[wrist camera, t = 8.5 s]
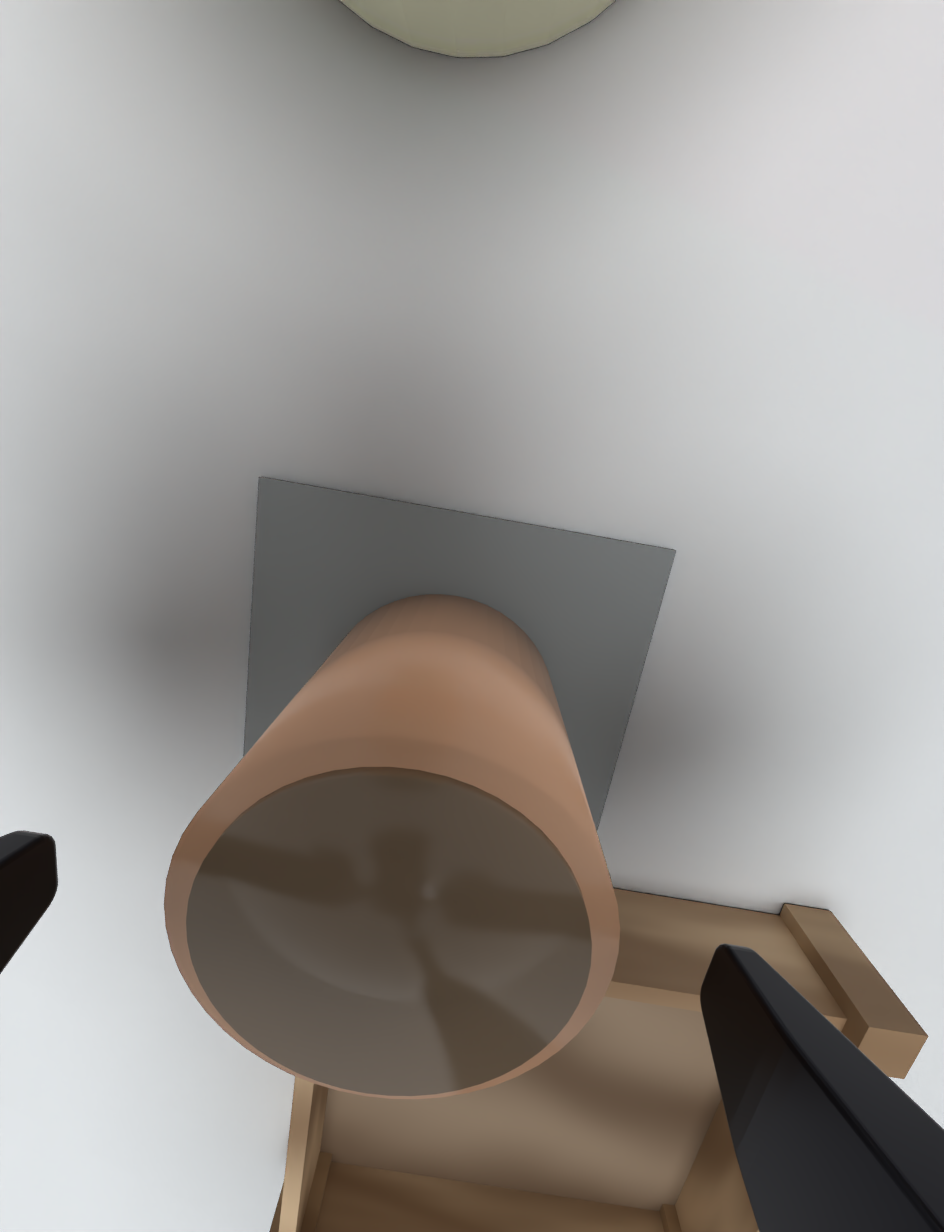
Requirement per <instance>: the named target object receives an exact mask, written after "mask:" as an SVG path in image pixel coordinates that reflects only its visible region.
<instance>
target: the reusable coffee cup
mask: <svg viewBox="0 0 944 1232" xmlns="http://www.w3.org/2000/svg"><path fill="white" fill-rule="evenodd" d="M339 1H341V2H342V3H343V4H344V5H346V6H347V7H348V8H349V9H350V10H352V11H353V12H354V13H355V14H357V15H358V16H359V17H360V18H362V19H363V20H364V21H365V22H367V23H368V24H369V25H370V26H372V27H374V28H376V29H378V30H380V31H382V32H384V33H386V34H388V35H390V36H392V37H394V38H396V39H398V40H400V41H402V42H404V43H406V44H408V45H410V46H412V47H415V48H419V49H423V50H428V51H432V52H436V53H441V54H445V55H449V56H454V57H501V56H506V55H510V54H514V53H517V52H521V51H525V50H529V49H532V48H536V47H540V46H543V45H547V44H549V43H551V42H553V41H555V40H557V39H559V38H560V37H562V36H564V35H566V34H568V33H570V32H572V31H574V30H575V29H577V28H579V27H581V26H583V25H585V24H587V23H589V22H590V21H592V20H593V19H594V18H595V17H597V16H598V15H599V14H600V13H601V12H603V11H604V10H605V9H606V8H607V7H609V6H610V5H611V4H612V3H613V2H615V1H616V0H339Z"/></svg>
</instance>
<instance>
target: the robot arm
mask: <svg viewBox="0 0 944 1232" xmlns="http://www.w3.org/2000/svg"><path fill="white" fill-rule="evenodd" d="M57 886H58V874H57V859H56V845H55V841H54V839H53V838H52V836H50V835H48V834H42V833H36V832H30V831H15V832H12V833H9V834H7V835H4V836H2V837H0V974H1V972H2V971H3V969H4V968H5V967H6V965H7V964H8V963H9V961H10V960H11V958H12V957H13V956H14V954H15V953H16V951H17V950H18V949H19V947H20V946H21V945H22V943H23V942H24V940H25V939H26V938H27V936H28V935H29V933H30V932H31V931H32V929H33V928H34V926H35V925H36V924H37V922H38V921H39V920H40V918H41V917H42V915H43V914H44V913H45V911H46V910H47V908H48V907H49V905H50V904H51V902H52V900H53V898H54V896H55V894H56V891H57ZM700 1004H701V1010H702V1014H703V1019H704V1023H705V1027H706V1032H707V1036H708V1040H709V1045H710V1049H711V1053H712V1058H713V1062H714V1066H715V1071H716V1075H717V1079H718V1084H719V1088H720V1092H721V1097H722V1101H723V1105H724V1110H725V1114H726V1118H727V1123H728V1127H729V1131H730V1135H731V1139H732V1143H733V1147H734V1151H735V1154H736V1158H737V1161H738V1164H739V1168H740V1171H741V1175H742V1178H743V1181H744V1185H745V1188H746V1191H747V1194H748V1197H749V1200H750V1204H751V1207H752V1210H753V1213H754V1216H755V1220H756V1223H757V1226H758V1229H759V1232H944V1129H943V1128H942V1127H941V1126H940V1125H939V1124H937V1123H936V1122H935V1121H934V1120H933V1119H932V1118H931V1117H930V1116H929V1115H928V1114H927V1113H926V1112H925V1111H924V1110H923V1109H922V1108H921V1107H920V1106H918V1105H917V1104H916V1103H915V1102H914V1101H913V1100H912V1099H911V1098H910V1097H909V1096H908V1095H907V1094H906V1093H905V1092H904V1091H903V1090H902V1089H900V1088H899V1087H898V1086H897V1085H896V1084H895V1083H894V1082H893V1081H892V1080H891V1079H890V1078H889V1077H888V1076H887V1075H886V1074H885V1073H884V1072H883V1071H881V1070H880V1069H879V1068H878V1067H877V1066H876V1065H875V1064H874V1063H873V1062H872V1061H871V1060H870V1059H869V1058H868V1057H867V1056H866V1055H865V1054H864V1053H862V1052H861V1051H860V1050H859V1049H858V1048H857V1047H856V1046H855V1045H854V1044H853V1043H852V1042H851V1041H850V1040H849V1039H848V1038H847V1037H846V1036H845V1035H843V1034H842V1033H841V1032H840V1031H839V1030H838V1029H837V1028H836V1027H835V1026H834V1025H833V1024H832V1023H831V1022H830V1021H829V1020H828V1019H827V1018H825V1017H824V1016H823V1015H822V1014H821V1013H820V1012H819V1011H818V1010H817V1009H816V1008H815V1007H814V1006H813V1005H812V1004H811V1003H810V1002H809V1001H808V1000H806V999H805V998H804V997H803V996H802V995H801V994H800V993H799V992H798V991H797V990H796V989H795V988H794V987H793V986H792V985H791V984H790V983H789V982H787V981H786V980H785V979H784V978H783V977H782V976H781V975H780V974H779V973H778V972H777V971H776V970H775V969H774V968H773V967H772V966H771V965H770V964H768V963H767V962H766V961H765V960H764V959H763V958H762V957H761V956H760V955H759V954H758V953H757V952H755V951H754V950H753V949H751V948H748V947H744V946H738V945H732V944H726V943H724V944H720V945H719V946H718V947H717V948H716V950H715V952H714V954H713V957H712V960H711V962H710V965H709V967H708V970H707V972H706V975H705V978H704V980H703V983H702V986H701V991H700Z"/></svg>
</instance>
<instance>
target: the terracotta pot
mask: <svg viewBox="0 0 944 1232" xmlns="http://www.w3.org/2000/svg"><path fill="white" fill-rule="evenodd" d="M164 910H165V923H166V930H167V934H168V939H169V943H170V947H171V951H172V953H173V956H174V958H175V961H176V963H177V966H178V968H179V971H180V973H181V975H182V976H183V978H184V980H185V982H186V983H187V985H188V987H189V989H190V990H191V992H192V994H193V995H194V996H195V998H196V999H197V1000H198V1002H199V1003H200V1004H201V1006H202V1007H203V1008H204V1010H205V1011H206V1012H207V1013H208V1014H209V1015H210V1016H211V1018H212V1019H213V1020H214V1021H215V1022H216V1023H217V1024H218V1025H219V1026H220V1027H221V1028H222V1029H223V1030H224V1031H225V1032H226V1033H228V1034H229V1035H230V1036H231V1037H233V1038H234V1039H235V1040H236V1041H237V1042H239V1043H240V1044H241V1045H242V1046H243V1047H245V1048H246V1049H248V1050H249V1051H251V1052H252V1053H254V1054H255V1055H257V1056H258V1057H260V1058H262V1059H263V1060H265V1061H266V1062H268V1063H270V1064H272V1065H274V1066H276V1067H278V1068H280V1069H282V1070H283V1071H285V1072H287V1073H289V1074H292V1075H294V1076H297V1077H299V1078H302V1079H304V1080H307V1081H309V1082H311V1083H314V1084H317V1085H321V1086H324V1087H328V1088H331V1089H334V1090H338V1091H342V1092H347V1093H352V1094H357V1095H362V1096H369V1097H378V1098H387V1099H428V1098H441V1097H448V1096H454V1095H460V1094H465V1093H470V1092H474V1091H477V1090H481V1089H485V1088H488V1087H492V1086H495V1085H497V1084H500V1083H502V1082H505V1081H507V1080H510V1079H512V1078H515V1077H517V1076H519V1075H521V1074H523V1073H525V1072H527V1071H529V1070H530V1069H532V1068H534V1067H536V1066H538V1065H540V1064H541V1063H543V1062H544V1061H545V1060H547V1059H548V1058H550V1057H551V1056H553V1055H554V1054H555V1053H557V1052H558V1051H560V1050H561V1049H562V1048H563V1047H564V1046H565V1045H566V1044H567V1043H568V1042H569V1041H571V1040H572V1039H573V1038H574V1037H575V1036H576V1035H577V1034H578V1033H579V1032H580V1030H581V1029H582V1028H583V1027H584V1026H585V1024H586V1023H587V1022H588V1021H589V1020H590V1019H591V1017H592V1016H593V1014H594V1013H595V1011H596V1009H597V1008H598V1006H599V1004H600V1003H601V1001H602V1000H603V998H604V996H605V994H606V991H607V989H608V986H609V984H610V982H611V979H612V977H613V974H614V970H615V965H616V961H617V957H618V953H619V939H620V922H619V912H618V904H617V900H616V896H615V892H614V889H613V885H612V881H611V878H610V874H609V871H608V868H607V865H606V861H605V858H604V855H603V851H602V848H601V845H600V841H599V838H598V835H597V831H596V828H595V825H594V821H593V818H592V815H591V812H590V808H589V805H588V802H587V798H586V795H585V792H584V788H583V785H582V782H581V778H580V775H579V772H578V768H577V765H576V762H575V759H574V755H573V752H572V749H571V745H570V742H569V739H568V735H567V732H566V729H565V725H564V722H563V719H562V715H561V712H560V709H559V706H558V702H557V699H556V696H555V692H554V689H553V686H552V682H551V679H550V676H549V672H548V669H547V667H546V665H545V662H544V660H543V658H542V656H541V654H540V652H539V651H538V649H537V647H536V646H535V644H534V643H533V642H532V640H531V639H530V638H529V637H528V635H527V634H526V633H525V632H524V631H523V630H522V629H521V628H520V627H519V626H518V625H517V624H516V623H514V622H513V621H512V620H511V619H509V618H508V617H506V616H505V615H504V614H502V613H501V612H499V611H497V610H495V609H493V608H491V607H489V606H488V605H485V604H482V603H480V602H477V601H475V600H472V599H467V598H463V597H459V596H453V595H444V594H426V595H419V596H412V597H407V598H404V599H400V600H397V601H394V602H391V603H389V604H387V605H384V606H382V607H380V608H378V609H377V610H375V611H373V612H372V613H370V614H368V615H367V616H366V617H365V618H363V619H362V620H361V621H360V622H358V623H357V624H356V625H355V626H354V627H353V628H352V629H351V630H350V632H349V633H348V634H347V635H346V636H345V637H344V638H343V639H342V641H341V642H340V643H339V644H338V645H337V647H336V648H335V649H334V650H333V651H332V653H331V654H330V655H329V656H328V657H327V659H326V660H325V661H324V662H323V663H322V664H321V666H320V667H319V668H318V669H317V670H316V672H315V673H314V674H313V675H312V676H311V678H310V679H309V680H308V681H307V682H306V683H305V685H304V686H303V687H302V688H301V689H300V691H299V692H298V693H297V694H296V695H295V697H294V698H293V699H292V700H291V701H290V703H289V704H288V705H287V706H286V707H285V708H284V710H283V711H282V712H281V713H280V714H279V716H278V717H277V718H276V719H275V720H274V722H273V723H272V724H271V725H270V726H269V727H268V729H267V730H266V731H265V732H264V733H263V735H262V736H261V737H260V738H259V739H258V741H257V742H256V743H255V744H254V745H253V747H252V748H251V749H250V750H249V751H248V752H247V754H246V755H245V756H244V757H243V758H242V760H241V761H240V762H239V763H238V764H237V766H236V767H235V768H234V769H233V770H232V771H231V773H230V774H229V775H228V776H227V777H226V779H225V780H224V781H223V782H222V783H221V785H220V786H219V787H218V788H217V789H216V790H215V792H214V793H213V794H212V795H211V796H210V798H209V799H208V800H207V801H206V802H205V804H204V805H203V806H202V807H201V808H200V810H199V811H198V812H197V813H196V815H195V816H194V818H193V819H192V821H191V822H190V824H189V825H188V827H187V828H186V830H185V831H184V832H183V834H182V836H181V839H180V841H179V843H178V845H177V847H176V849H175V852H174V854H173V856H172V860H171V863H170V867H169V871H168V875H167V878H166V887H165V898H164Z"/></svg>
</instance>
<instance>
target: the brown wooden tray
mask: <svg viewBox="0 0 944 1232" xmlns="http://www.w3.org/2000/svg"><path fill="white" fill-rule="evenodd" d="M613 889H614V892H615V896H616V900H617V904H618V912H619V922H620V939H619V953H618V957H617V961H616V965H615V970H614V974H613V977H612V979H611V982H610V984H609V986H608V989H607V991H606V994H605V996H604V998H603V1000H602V1001H601V1003H600V1004H599V1006H598V1008H597V1009H596V1011H595V1013H594V1014H593V1016H592V1017H591V1019H590V1020H589V1021H588V1022H587V1023H586V1024H585V1026H584V1027H583V1028H582V1029H581V1030H580V1032H579V1033H578V1034H577V1035H576V1036H575V1037H574V1038H573V1039H572V1040H571V1041H569V1042H568V1043H567V1044H566V1045H565V1046H564V1047H563V1048H562V1049H561V1050H560V1051H558V1052H557V1053H555V1054H554V1055H553V1056H551V1057H550V1058H548V1059H547V1060H545V1061H544V1062H543V1063H541V1064H540V1065H538V1066H536V1067H534V1068H532V1069H530V1070H529V1071H527V1072H525V1073H523V1074H521V1075H519V1076H517V1077H515V1078H512V1079H510V1080H507V1081H505V1082H502V1083H500V1084H497V1085H495V1086H492V1087H488V1088H485V1089H481V1090H477V1091H474V1092H470V1093H465V1094H460V1095H454V1096H448V1097H441V1098H428V1099H387V1098H378V1097H369V1096H362V1095H357V1094H352V1093H347V1092H342V1091H338V1090H334V1089H331V1088H328V1087H324V1086H321V1085H317V1084H314V1083H311V1082H309V1081H307V1080H304V1079H302V1078H299V1077H297V1076H295V1084H294V1094H293V1103H292V1112H291V1122H290V1131H289V1140H288V1150H287V1159H286V1168H285V1178H284V1183H283V1186H282V1190H281V1193H280V1197H279V1200H278V1204H277V1207H276V1211H275V1214H274V1218H273V1221H272V1225H271V1228H270V1232H759V1229H758V1226H757V1223H756V1220H755V1216H754V1213H753V1210H752V1207H751V1204H750V1200H749V1197H748V1194H747V1191H746V1188H745V1185H744V1181H743V1178H742V1175H741V1171H740V1168H739V1164H738V1161H737V1158H736V1154H735V1151H734V1147H733V1143H732V1139H731V1135H730V1131H729V1127H728V1123H727V1118H726V1114H725V1110H724V1105H723V1101H722V1097H721V1092H720V1088H719V1084H718V1079H717V1075H716V1071H715V1066H714V1062H713V1058H712V1053H711V1049H710V1045H709V1040H708V1036H707V1032H706V1027H705V1023H704V1019H703V1014H702V1010H701V1004H700V991H701V986H702V983H703V980H704V978H705V975H706V972H707V970H708V967H709V965H710V962H711V960H712V957H713V954H714V952H715V950H716V948H717V947H718V946H719V945H720V944H724V943H726V944H732V945H738V946H744V947H748V948H751V949H753V950H754V951H755V952H757V953H758V954H759V955H760V956H761V957H762V958H763V959H764V960H765V961H766V962H767V963H768V964H770V965H771V966H772V967H773V968H774V969H775V970H776V971H777V972H778V973H779V974H780V975H781V976H782V977H783V978H784V979H785V980H786V981H787V982H789V983H790V984H791V985H792V986H793V987H794V988H795V989H796V990H797V991H798V992H799V993H800V994H801V995H802V996H803V997H804V998H805V999H806V1000H808V1001H809V1002H810V1003H811V1004H812V1005H813V1006H814V1007H815V1008H816V1009H817V1010H818V1011H819V1012H820V1013H821V1014H822V1015H823V1016H824V1017H825V1018H827V1019H828V1020H829V1021H830V1022H831V1023H832V1024H833V1025H834V1026H835V1027H836V1028H837V1029H838V1030H839V1031H840V1032H841V1033H842V1034H843V1035H845V1036H846V1037H847V1038H848V1039H849V1040H850V1041H851V1042H852V1043H853V1044H854V1045H855V1046H856V1047H857V1048H858V1049H859V1050H860V1051H861V1052H862V1053H864V1054H865V1055H866V1056H867V1057H868V1058H869V1059H870V1060H871V1061H872V1062H873V1063H874V1064H875V1065H876V1066H877V1067H878V1068H879V1069H880V1070H881V1071H883V1072H884V1073H885V1074H886V1075H887V1076H888V1077H894V1078H901V1079H904V1078H905V1077H906V1075H907V1073H908V1071H909V1069H910V1068H911V1066H912V1064H913V1062H914V1061H915V1059H916V1057H917V1055H918V1054H919V1052H920V1050H921V1048H922V1047H923V1045H924V1043H925V1041H926V1040H927V1038H928V1035H927V1034H926V1033H925V1031H924V1030H923V1029H922V1028H921V1026H920V1025H919V1024H918V1022H917V1021H916V1020H915V1019H914V1017H913V1016H912V1015H911V1013H910V1012H909V1011H908V1010H907V1008H906V1007H905V1006H904V1004H903V1003H902V1002H901V1001H900V999H899V998H898V997H897V995H896V994H895V993H894V992H893V990H892V989H891V988H890V986H889V985H888V984H887V983H886V981H885V980H884V979H883V977H882V976H881V975H880V974H879V972H878V971H877V970H876V968H875V967H874V966H873V965H872V963H871V962H870V961H869V960H868V958H867V957H866V956H865V954H864V953H863V952H862V951H861V949H860V948H859V947H858V945H857V944H856V943H855V942H854V940H853V939H852V938H851V936H850V935H849V934H848V933H847V931H846V930H845V929H844V927H843V926H842V925H841V924H840V922H839V921H838V920H837V918H836V917H835V916H834V915H833V913H832V912H831V911H828V910H822V909H816V908H809V907H803V906H797V905H791V904H784V906H783V908H782V911H781V913H780V915H774V914H768V913H761V912H755V911H749V910H743V909H737V908H731V907H725V906H719V905H712V904H706V903H700V902H694V901H688V900H682V899H676V898H670V897H664V896H657V895H651V894H645V893H639V892H633V891H627V890H621V889H615V888H613Z"/></svg>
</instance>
